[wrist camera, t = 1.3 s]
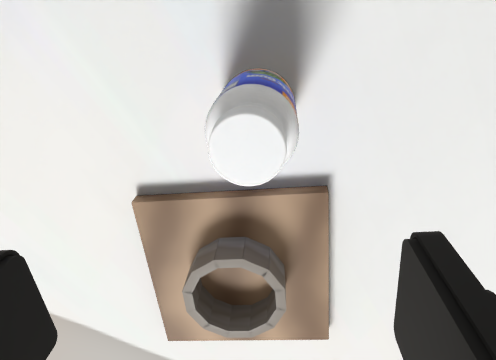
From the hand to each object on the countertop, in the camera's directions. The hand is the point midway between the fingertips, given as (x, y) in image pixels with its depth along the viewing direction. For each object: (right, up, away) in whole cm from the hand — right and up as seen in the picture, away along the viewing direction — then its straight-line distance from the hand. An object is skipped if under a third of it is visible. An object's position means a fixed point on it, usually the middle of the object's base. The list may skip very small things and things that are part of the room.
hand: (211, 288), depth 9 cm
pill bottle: (+2, +8, +18) cm, 20 cm away
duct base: (0, -5, +24) cm, 25 cm away
